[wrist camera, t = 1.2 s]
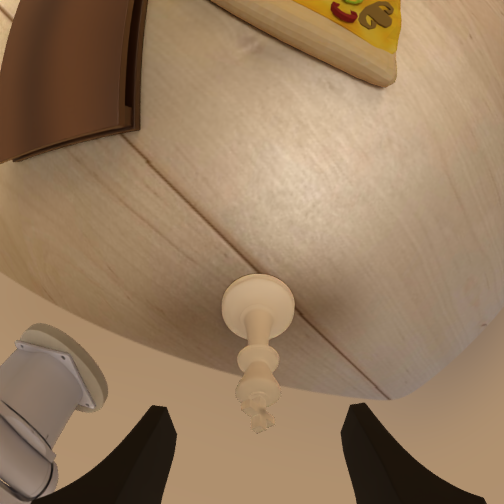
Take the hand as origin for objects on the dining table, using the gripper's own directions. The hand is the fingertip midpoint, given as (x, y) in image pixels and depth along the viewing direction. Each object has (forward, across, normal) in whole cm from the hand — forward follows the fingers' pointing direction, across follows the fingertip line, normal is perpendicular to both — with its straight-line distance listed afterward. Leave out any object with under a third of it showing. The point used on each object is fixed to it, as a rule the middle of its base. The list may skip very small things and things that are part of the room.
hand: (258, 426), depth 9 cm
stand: (+10, +13, -32) cm, 36 cm away
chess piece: (+10, 0, 0) cm, 10 cm away
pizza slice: (+10, -7, -26) cm, 29 cm away
